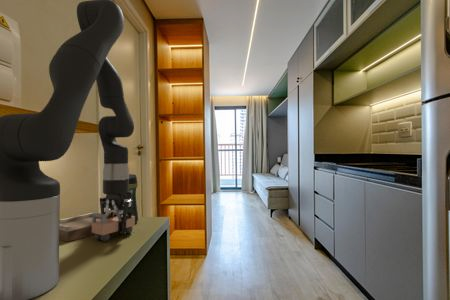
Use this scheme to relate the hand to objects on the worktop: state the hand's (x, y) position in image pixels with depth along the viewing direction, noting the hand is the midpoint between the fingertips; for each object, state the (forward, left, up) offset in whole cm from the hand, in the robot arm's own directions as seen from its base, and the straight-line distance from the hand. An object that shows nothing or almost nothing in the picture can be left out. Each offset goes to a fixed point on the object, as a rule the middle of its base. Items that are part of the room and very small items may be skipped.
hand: (115, 231), depth 72 cm
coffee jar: (+10, +10, -2) cm, 15 cm away
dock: (-3, +14, -1) cm, 14 cm away
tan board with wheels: (-1, 0, -1) cm, 2 cm away
